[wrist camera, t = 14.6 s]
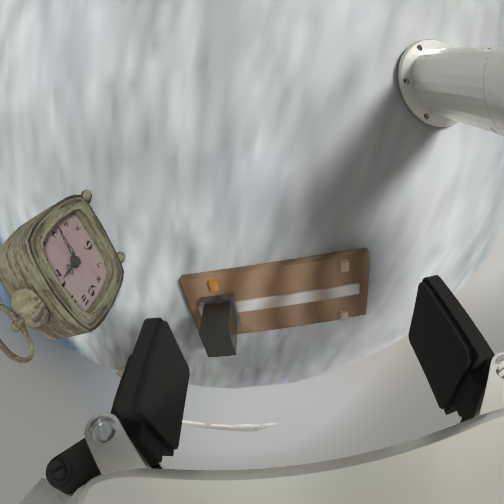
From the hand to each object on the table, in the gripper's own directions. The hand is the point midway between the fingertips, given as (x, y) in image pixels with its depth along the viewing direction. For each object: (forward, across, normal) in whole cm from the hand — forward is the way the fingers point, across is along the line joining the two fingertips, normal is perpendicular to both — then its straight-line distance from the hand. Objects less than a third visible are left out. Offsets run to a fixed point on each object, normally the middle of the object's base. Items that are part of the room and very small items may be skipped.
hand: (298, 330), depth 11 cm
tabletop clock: (+31, +27, +6) cm, 41 cm away
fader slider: (+28, +10, +22) cm, 37 cm away
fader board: (+30, +1, +22) cm, 37 cm away
